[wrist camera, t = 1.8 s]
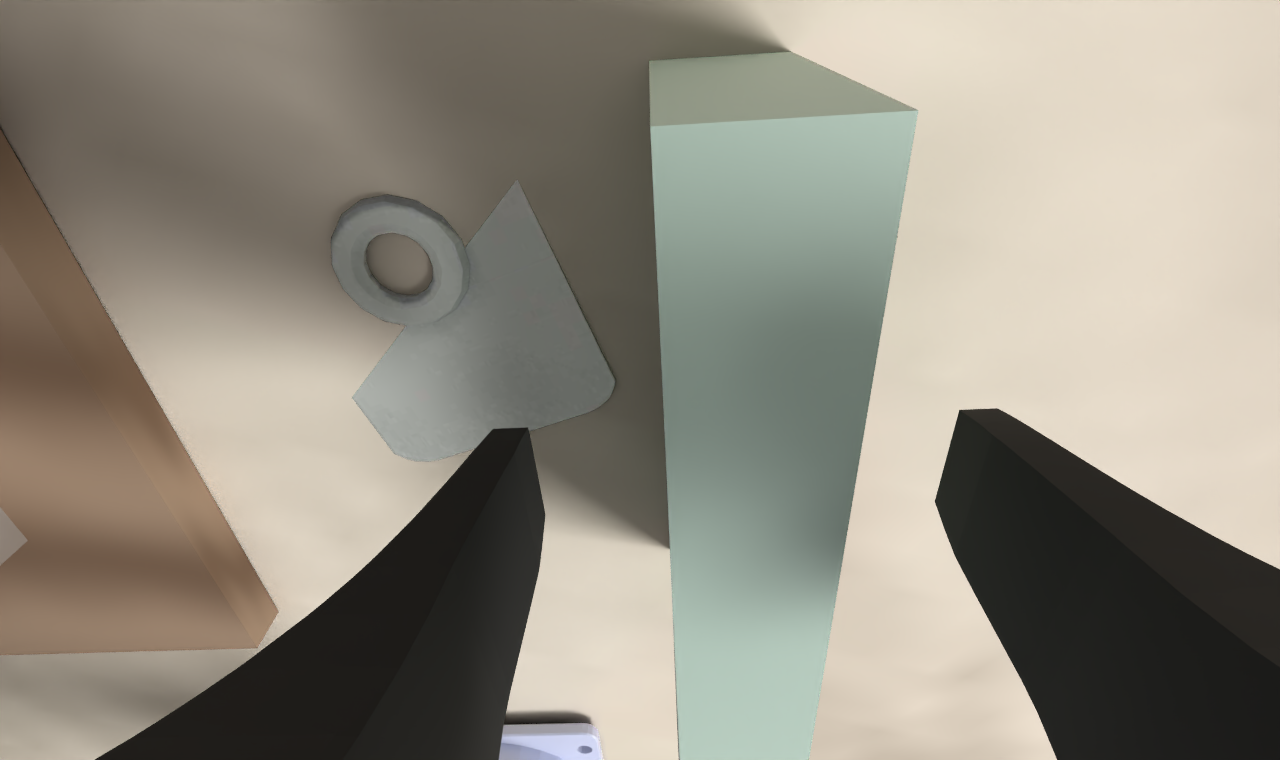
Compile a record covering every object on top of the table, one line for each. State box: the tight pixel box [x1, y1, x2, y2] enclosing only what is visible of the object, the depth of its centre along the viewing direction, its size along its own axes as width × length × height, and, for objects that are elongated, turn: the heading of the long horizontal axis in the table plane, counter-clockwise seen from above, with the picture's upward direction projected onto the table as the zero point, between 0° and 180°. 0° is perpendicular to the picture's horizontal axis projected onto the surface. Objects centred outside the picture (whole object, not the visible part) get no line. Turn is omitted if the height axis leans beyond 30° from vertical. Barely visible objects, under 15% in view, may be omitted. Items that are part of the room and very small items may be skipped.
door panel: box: [649, 51, 918, 760], centre depth 11 cm, size 12×2×6 cm, turn 3°
